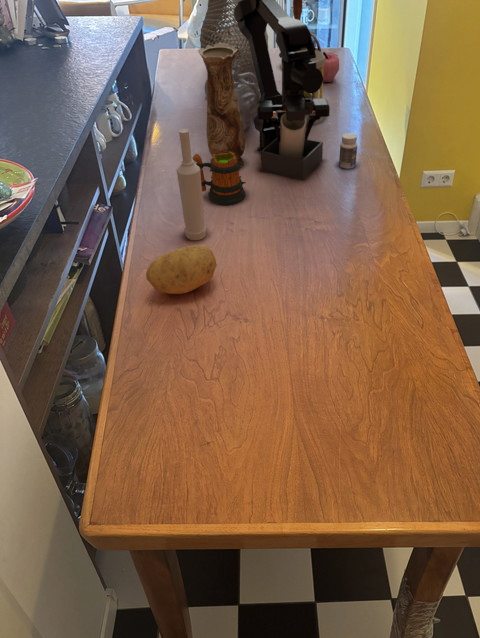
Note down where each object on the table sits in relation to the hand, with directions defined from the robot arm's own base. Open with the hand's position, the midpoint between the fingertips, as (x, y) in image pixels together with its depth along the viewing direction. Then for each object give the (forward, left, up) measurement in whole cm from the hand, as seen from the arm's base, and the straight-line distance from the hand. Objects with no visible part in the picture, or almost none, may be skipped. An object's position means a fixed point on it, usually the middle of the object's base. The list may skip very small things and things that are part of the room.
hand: (292, 140), depth 163 cm
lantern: (-13, +34, -8) cm, 37 cm away
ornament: (-27, +17, -8) cm, 33 cm away
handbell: (-35, +77, -8) cm, 85 cm away
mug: (-10, -23, -8) cm, 26 cm away
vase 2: (-18, -6, -8) cm, 20 cm away
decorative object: (-58, +67, -8) cm, 89 cm away
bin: (-1, +1, -8) cm, 8 cm away
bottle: (-6, -42, -8) cm, 43 cm away
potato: (+3, -61, -8) cm, 61 cm away
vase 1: (-41, +41, -8) cm, 58 cm away
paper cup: (-2, +3, -5) cm, 6 cm away
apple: (-19, +68, -8) cm, 71 cm away
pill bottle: (+13, +8, -8) cm, 18 cm away
